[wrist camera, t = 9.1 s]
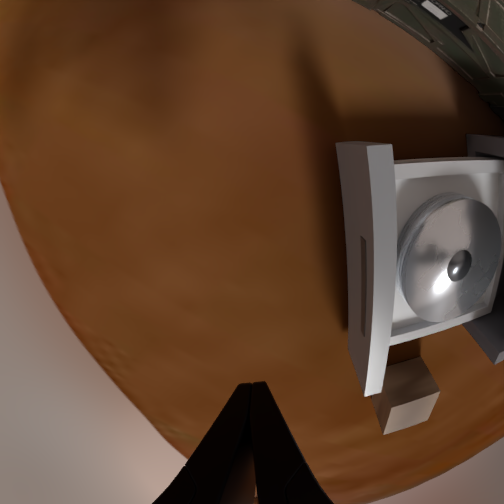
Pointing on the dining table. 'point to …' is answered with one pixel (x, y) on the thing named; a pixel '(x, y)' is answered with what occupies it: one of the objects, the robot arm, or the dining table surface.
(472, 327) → the grey drawer cabinet
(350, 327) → the tray
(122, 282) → the dining table surface
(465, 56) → the radio
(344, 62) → the dining table surface
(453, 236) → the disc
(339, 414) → the dining table surface
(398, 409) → the walnut block
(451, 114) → the dining table surface
